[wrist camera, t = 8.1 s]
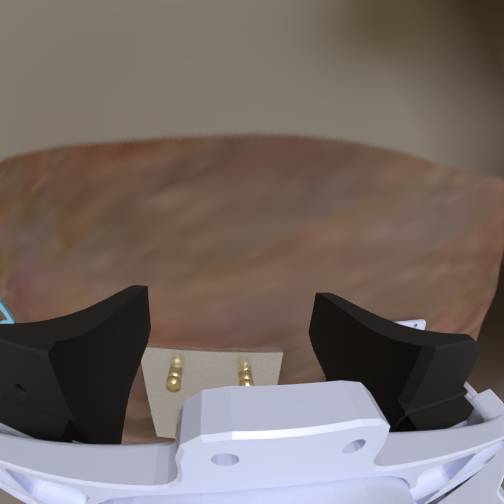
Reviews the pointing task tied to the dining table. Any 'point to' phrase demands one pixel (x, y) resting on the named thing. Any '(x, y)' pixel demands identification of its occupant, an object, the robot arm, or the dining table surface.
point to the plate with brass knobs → (200, 376)
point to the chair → (6, 313)
